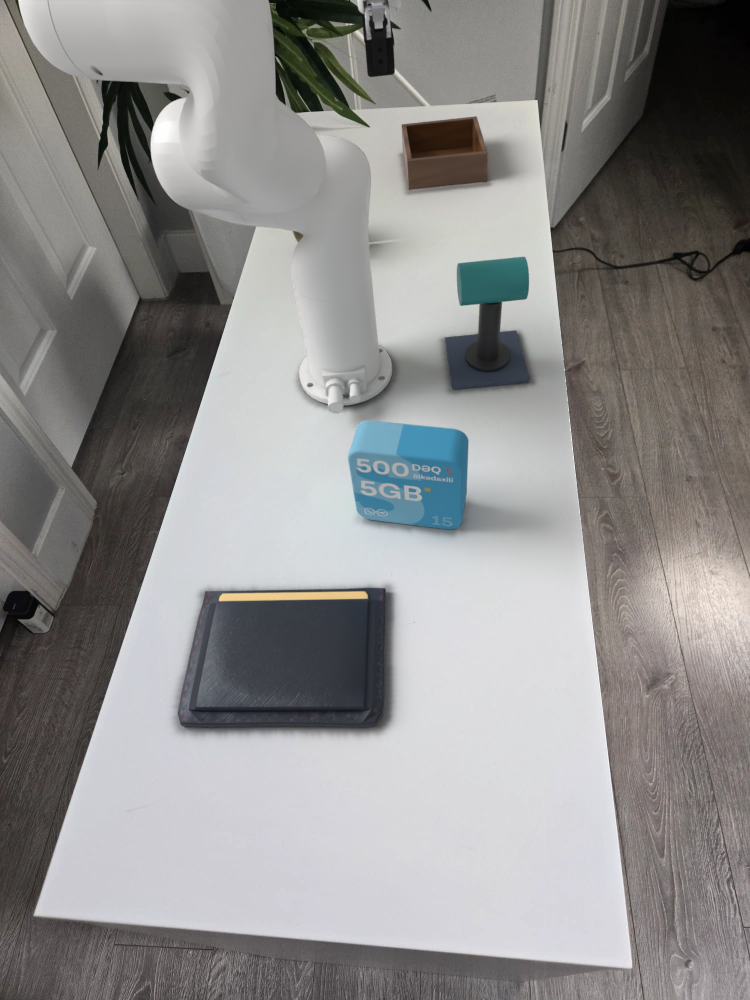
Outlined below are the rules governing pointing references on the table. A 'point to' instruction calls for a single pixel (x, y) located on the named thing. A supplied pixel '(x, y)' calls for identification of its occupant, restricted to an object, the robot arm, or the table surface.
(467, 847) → the table surface
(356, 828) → the table surface
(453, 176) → the open wooden box
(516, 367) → the mat
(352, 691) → the wallet
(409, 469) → the data package
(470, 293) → the mallet
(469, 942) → the table surface
